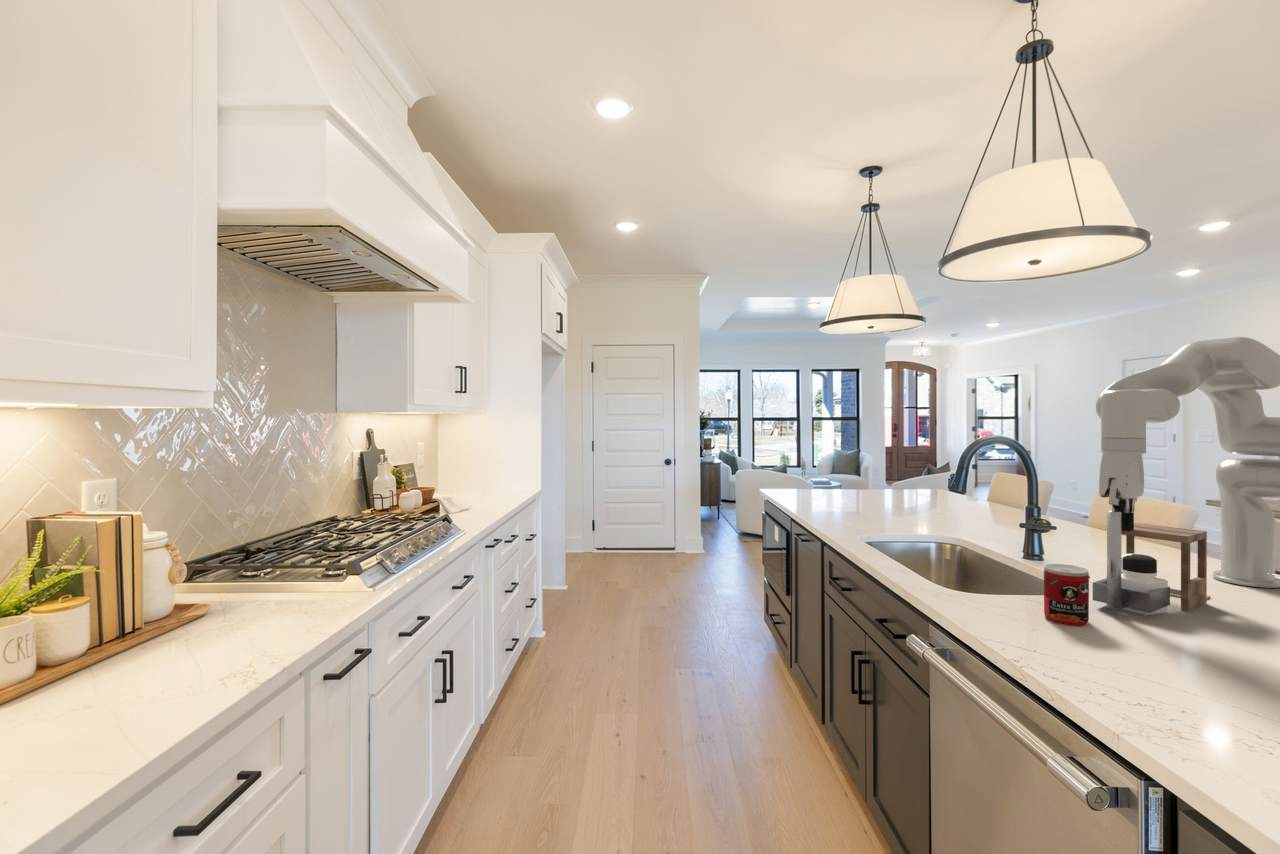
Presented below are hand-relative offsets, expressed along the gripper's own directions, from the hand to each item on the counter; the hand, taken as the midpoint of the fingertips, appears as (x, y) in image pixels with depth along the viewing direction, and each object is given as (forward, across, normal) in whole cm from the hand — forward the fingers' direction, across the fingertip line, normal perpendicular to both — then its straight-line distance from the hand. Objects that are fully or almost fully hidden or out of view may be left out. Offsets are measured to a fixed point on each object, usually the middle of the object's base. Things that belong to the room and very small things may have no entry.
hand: (1123, 530), depth 126 cm
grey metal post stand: (+16, -2, 0) cm, 17 cm away
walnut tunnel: (+18, -17, 0) cm, 25 cm away
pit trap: (+18, -26, 0) cm, 32 cm away
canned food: (+18, +16, -4) cm, 25 cm away
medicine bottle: (+18, -5, +1) cm, 19 cm away
